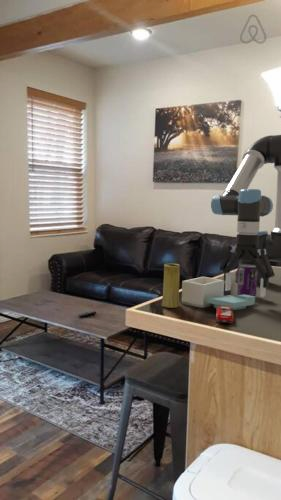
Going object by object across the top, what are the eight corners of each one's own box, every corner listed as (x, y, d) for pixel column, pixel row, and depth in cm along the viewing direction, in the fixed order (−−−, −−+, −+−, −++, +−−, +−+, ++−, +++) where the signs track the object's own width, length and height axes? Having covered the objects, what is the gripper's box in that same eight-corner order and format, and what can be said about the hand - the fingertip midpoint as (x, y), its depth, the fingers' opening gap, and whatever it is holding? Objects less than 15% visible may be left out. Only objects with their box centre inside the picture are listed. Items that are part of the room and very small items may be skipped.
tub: (202, 297, 153) (203, 276, 152) (223, 301, 147) (224, 280, 146) (181, 303, 143) (182, 281, 142) (202, 308, 137) (203, 284, 136)
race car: (216, 313, 133) (216, 301, 132) (233, 314, 131) (233, 302, 131) (214, 324, 120) (214, 311, 119) (233, 326, 119) (233, 312, 118)
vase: (181, 304, 141) (182, 264, 140) (177, 308, 136) (178, 266, 134) (164, 302, 143) (165, 262, 142) (159, 307, 138) (160, 265, 136)
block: (236, 302, 150) (237, 293, 150) (261, 307, 143) (262, 297, 143) (206, 306, 135) (207, 296, 135) (232, 312, 129) (233, 301, 128)
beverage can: (256, 299, 152) (258, 267, 151) (237, 297, 154) (238, 266, 152) (255, 295, 159) (257, 264, 158) (236, 293, 160) (238, 263, 159)
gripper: (211, 231, 148) (209, 289, 150) (277, 236, 131) (273, 301, 133) (222, 231, 153) (220, 286, 155) (287, 235, 136) (283, 297, 139)
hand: (244, 293), depth 144 cm, fingers open, 13 cm apart
